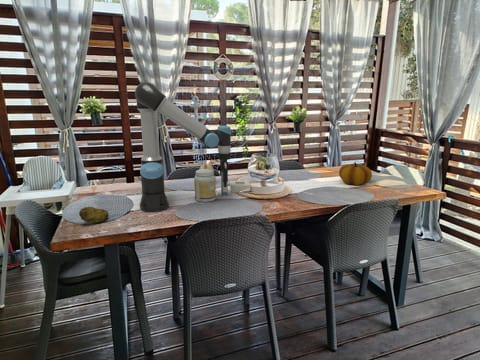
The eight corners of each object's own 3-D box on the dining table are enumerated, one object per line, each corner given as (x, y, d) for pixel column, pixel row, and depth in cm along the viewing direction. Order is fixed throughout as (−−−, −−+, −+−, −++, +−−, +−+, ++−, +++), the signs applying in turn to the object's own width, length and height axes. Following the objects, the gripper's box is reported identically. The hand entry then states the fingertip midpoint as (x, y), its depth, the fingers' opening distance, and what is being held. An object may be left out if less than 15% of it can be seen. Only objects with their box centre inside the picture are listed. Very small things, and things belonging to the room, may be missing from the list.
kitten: (204, 179, 231) (204, 159, 227) (217, 181, 228) (217, 160, 224) (195, 185, 217) (194, 163, 213) (209, 186, 214) (208, 164, 210)
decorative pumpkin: (367, 189, 212) (370, 166, 208) (334, 184, 223) (335, 162, 219) (373, 182, 229) (376, 161, 225) (341, 177, 240) (343, 157, 236)
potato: (111, 222, 155) (109, 206, 153) (81, 227, 149) (79, 211, 147) (108, 216, 162) (106, 201, 160) (79, 221, 156) (77, 205, 154)
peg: (228, 195, 197) (228, 172, 193) (221, 195, 196) (221, 173, 192) (227, 193, 200) (227, 171, 197) (220, 193, 200) (220, 171, 196)
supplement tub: (220, 198, 191) (219, 170, 187) (206, 204, 182) (206, 174, 177) (204, 194, 198) (203, 167, 194) (190, 199, 188) (189, 171, 184)
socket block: (251, 192, 204) (251, 185, 203) (232, 192, 202) (232, 185, 201) (247, 186, 215) (247, 180, 214) (229, 187, 213) (229, 180, 212)
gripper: (232, 155, 183) (232, 194, 189) (228, 149, 201) (228, 185, 207) (219, 155, 182) (219, 195, 188) (216, 149, 200) (216, 186, 206)
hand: (224, 190), depth 198 cm, fingers open, 5 cm apart
